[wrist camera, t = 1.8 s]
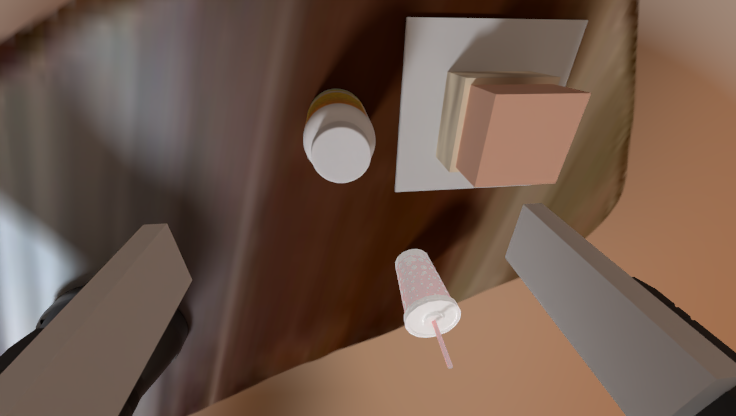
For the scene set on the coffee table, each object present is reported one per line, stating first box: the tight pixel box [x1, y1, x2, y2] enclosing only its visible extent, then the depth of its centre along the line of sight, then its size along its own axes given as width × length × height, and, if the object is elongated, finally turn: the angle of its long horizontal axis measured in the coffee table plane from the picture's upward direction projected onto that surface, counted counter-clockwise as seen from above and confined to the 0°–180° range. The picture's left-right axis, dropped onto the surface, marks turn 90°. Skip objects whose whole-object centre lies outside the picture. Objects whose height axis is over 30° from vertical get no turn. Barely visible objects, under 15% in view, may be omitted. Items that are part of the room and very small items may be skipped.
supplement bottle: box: [303, 89, 375, 183], centre depth 23 cm, size 5×5×10 cm
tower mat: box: [395, 17, 588, 192], centre depth 28 cm, size 16×16×1 cm
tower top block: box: [456, 84, 591, 187], centre depth 23 cm, size 7×7×4 cm
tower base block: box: [436, 71, 561, 172], centre depth 26 cm, size 8×8×4 cm
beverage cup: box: [395, 249, 461, 369], centre depth 32 cm, size 6×6×14 cm
